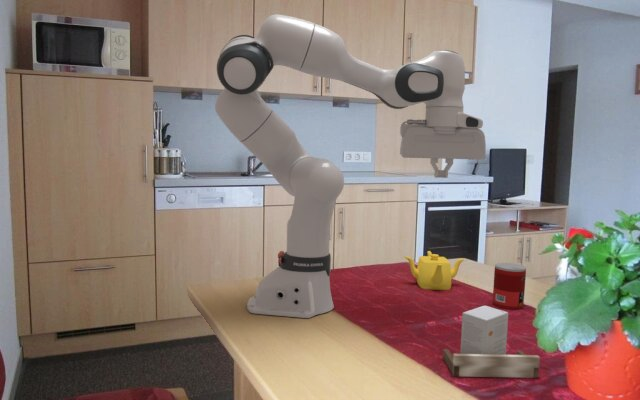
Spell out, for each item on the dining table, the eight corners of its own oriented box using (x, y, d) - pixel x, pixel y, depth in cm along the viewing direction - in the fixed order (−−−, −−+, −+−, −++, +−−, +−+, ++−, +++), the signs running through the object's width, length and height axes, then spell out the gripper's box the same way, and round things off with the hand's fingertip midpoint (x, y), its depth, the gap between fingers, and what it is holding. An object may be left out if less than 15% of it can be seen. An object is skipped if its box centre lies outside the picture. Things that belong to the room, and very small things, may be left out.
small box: (481, 353, 108) (484, 304, 107) (505, 362, 104) (509, 311, 103) (458, 363, 103) (461, 311, 102) (483, 373, 99) (486, 319, 98)
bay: (453, 376, 97) (454, 355, 97) (443, 358, 105) (444, 339, 105) (538, 377, 97) (539, 357, 97) (521, 360, 105) (522, 341, 105)
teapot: (427, 276, 171) (428, 247, 170) (465, 286, 160) (467, 255, 159) (400, 284, 161) (401, 253, 159) (439, 294, 150) (440, 262, 149)
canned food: (525, 310, 137) (528, 270, 136) (494, 308, 139) (496, 268, 138) (520, 302, 145) (523, 263, 144) (490, 300, 146) (493, 261, 145)
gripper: (403, 118, 122) (400, 177, 123) (489, 120, 122) (486, 179, 124) (398, 119, 128) (396, 175, 130) (481, 121, 128) (477, 177, 130)
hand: (440, 177), depth 127 cm, fingers closed
